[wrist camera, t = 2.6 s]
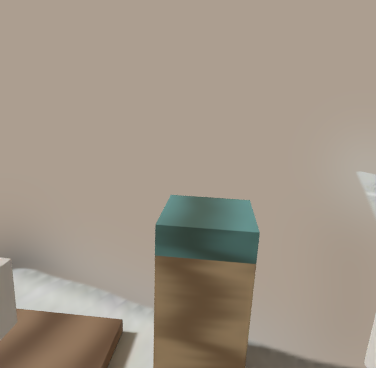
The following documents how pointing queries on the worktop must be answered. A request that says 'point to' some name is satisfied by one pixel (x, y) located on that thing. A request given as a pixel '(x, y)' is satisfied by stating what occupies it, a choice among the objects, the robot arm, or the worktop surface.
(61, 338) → the walnut board
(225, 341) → the tan rectangular block
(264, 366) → the worktop surface
